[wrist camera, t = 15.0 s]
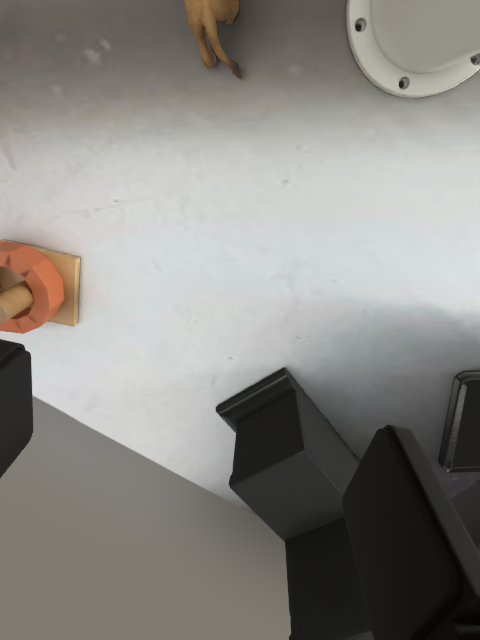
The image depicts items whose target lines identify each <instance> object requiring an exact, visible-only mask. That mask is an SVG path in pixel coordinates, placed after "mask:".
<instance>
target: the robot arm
mask: <svg viewBox="0 0 480 640" xmlns="http://www.w3.org/2000/svg"><path fill="white" fill-rule="evenodd" d="M346 13H347V32H348V37H349V43H350V47H351V50H352V52H353V55H354V58H355V60H356V62H357V64H358V65H359V67H360V69H361V70H362V72H363V73H364V75H365V76H366V77H367V78H368V79H369V80H370V81H371V82H372V83H373V84H374V85H375V86H377V87H378V88H380V89H382V90H383V91H385V92H386V93H389V94H392V95H395V96H398V97H405V98H420V97H428V96H431V95H435V94H438V93H441V92H444V91H446V90H448V89H450V88H453V87H455V86H457V85H458V84H460V83H461V82H463V81H464V80H466V79H468V78H469V77H471V76H472V75H473V74H474V73H475V72H476V71H478V70H479V69H480V0H348V1H347V8H346ZM356 25H359V26H360V27H361V30H360V31H359V32H357V31H356V29H355V26H356ZM471 57H472V58H473V63H471ZM400 81H401V82H402V83H403V87H402V88H399V85H398V84H399V82H400ZM32 433H33V407H32V375H31V354H30V352H28V351H26V350H25V347H24V345H22V344H19V343H15V342H10V341H6V340H1V339H0V478H1V477H2V475H3V474H4V473H5V472H6V470H7V469H8V468H9V466H10V465H11V464H12V463H13V461H14V460H15V459H16V458H17V456H18V455H19V454H20V453H21V451H22V450H23V449H24V448H25V446H26V445H27V444H28V442H29V441H30V439H31V436H32ZM342 508H343V512H344V516H345V521H346V525H347V529H348V533H349V537H350V542H351V546H352V550H353V554H354V558H355V563H356V567H357V571H358V575H359V579H360V584H361V588H362V592H363V596H364V601H365V605H366V609H367V613H368V617H369V622H370V626H371V630H372V634H373V638H374V640H480V553H479V551H478V549H477V548H476V546H475V544H474V542H473V541H472V539H471V537H470V535H469V533H468V531H467V530H466V528H465V526H464V524H463V522H462V521H461V519H460V517H459V515H458V513H457V512H456V510H455V508H454V506H453V504H452V503H451V501H450V499H449V497H448V495H447V494H446V492H445V490H444V488H443V486H442V484H441V483H440V481H439V479H438V477H437V475H436V474H435V472H434V470H433V468H432V466H431V465H430V463H429V461H428V459H427V457H426V456H425V454H424V452H423V450H422V448H421V447H420V445H419V443H418V441H417V439H416V438H415V436H414V434H413V433H412V431H411V430H409V429H406V428H401V427H397V426H392V425H387V426H385V427H384V428H383V429H379V430H378V431H377V432H376V434H375V436H374V438H373V439H372V441H371V443H370V445H369V447H368V449H367V451H366V453H365V454H364V456H363V458H362V460H361V462H360V464H359V466H358V468H357V470H356V471H355V473H354V475H353V477H352V479H351V481H350V483H349V485H348V486H347V488H346V490H345V492H344V494H343V498H342Z"/></svg>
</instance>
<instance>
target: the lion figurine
mask: <svg viewBox="0 0 480 640" xmlns="http://www.w3.org/2000/svg"><path fill="white" fill-rule="evenodd" d="M184 2H185V7H186V11H187V20H188V23H189V26H190V28H191V30H192V32H193V34H194V37H195V39H196V41H197V43H198V46H199V49H200V51H201V56H202V60H203V62H204V64H205V66H206V67H207V68H212V67H214V66H215V65H216V56H215V53H216V55H217V57H218V58H219V59H220V60H221V61H222V62H223V63H224V64H225V65H227V66H228V67H229V68H230V69H231V70H232V72H233V74H234V75H236V76H237V77H238V78H239V79H242V78H243V77H244V75H243V72H242V71H241V69H240V68H239V66H238V64H237V63H236V62H234V61H232V60H231V59H230V58H228V57H227V56H226V55H225V53H224V52H223V50H222V48H221V46H220V43H219V40H218V35H217V29H216V28H217V22H222V21H224V20H225V21H226V23H227V25H232V23H233V20H234V18H235V17H236V16H237V14H238V11H239V0H184ZM205 32H207V34H208V37H209V40H210V42H211V45H212V47H213V49H214V51H215V53H214V51H213V50H211V49H210V48H209V46H208V43H207V40H206V33H205Z"/></svg>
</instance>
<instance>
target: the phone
mask: <svg viewBox="0 0 480 640" xmlns="http://www.w3.org/2000/svg"><path fill="white" fill-rule="evenodd" d="M439 463H440V464H441V466H442V468H443V470H444V471H446V472H480V371H471V372H463V373H460V374H459V375H457V376H456V378H455V380H454V384H453V390H452V395H451V400H450V405H449V410H448V415H447V420H446V426H445V431H444V436H443V441H442V446H441V451H440V457H439Z"/></svg>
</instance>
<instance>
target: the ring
mask: <svg viewBox="0 0 480 640" xmlns="http://www.w3.org/2000/svg"><path fill="white" fill-rule="evenodd" d="M0 266H2V267H8V268H10V269H11V270H13V271H14V272H16V273H17V274H19V275H21V276H22V277H23V278H24V279H25V281H26V282H27V284H28V285H29V287H30V288H31V289H32V295H33V303H34V305H33V307H32V308H26V309H24V310H23V311H21V312H20V313H18V314H17V315H15V316H14V317H12V318H11V319H9V320H7V321H6V322H4V323H3V324H0V330H1V331H7V332H15V333H22V334H23V333H26V332H28V331H31V330H33V329H36V328H38V327H40V326H42V325H43V324H44V323H46V322H47V321H48V320H49V319H51V318H52V317H53V316H54V315H56V313H57V311H58V309H59V308H60V306H61V304H62V302H63V301H64V290H63V279H62V278H61V276H60V274H59V273H58V271H57V270H56V268H55V267H54V265H53V264H52V262H51V261H50V259H49V258H48V257H46V256H45V255H43V254H42V253H40V252H38V251H37V250H35V249H34V248H32V247H31V246H29V245H27V244H19V243H12V242H2V243H0ZM0 293H1V291H0Z"/></svg>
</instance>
